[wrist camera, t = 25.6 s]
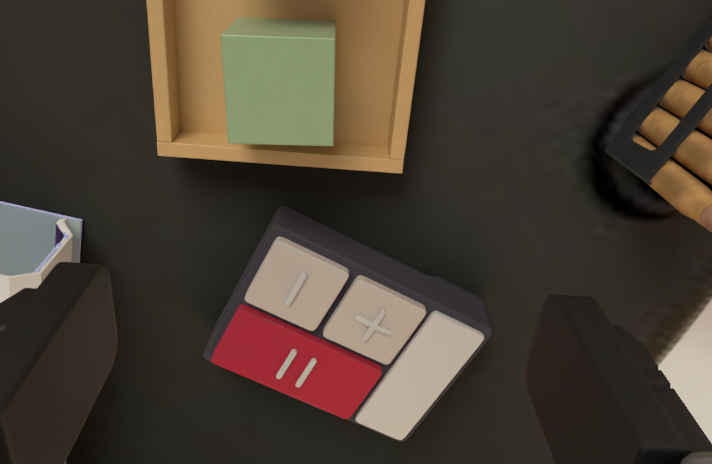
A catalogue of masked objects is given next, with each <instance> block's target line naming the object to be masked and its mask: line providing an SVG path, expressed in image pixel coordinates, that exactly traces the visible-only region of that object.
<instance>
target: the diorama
mask: <svg viewBox="0 0 712 464" xmlns="http://www.w3.org/2000/svg"><path fill="white" fill-rule="evenodd" d="M82 220H83V219H78V218H74V217H69V216H65V215H60V214H56V213H51V212H47V211H42V210H38V209H33V208H29V207H24V206H20V205H15V204H11V203H6V202H2V201H0V303H1V302H3V301H4V300H6V299H8V298H9V297H11V296H12V295H14V294H16V293H17V292H19V291H21V290H22V289H24V288H35V289H37V288H38V287H39V285H40V284H41V283H42V282H43V280H44V279H45V278H46V277H47V275H48V274H49V273H50V272H51V270H52V269H53V268H54V267H55V265H56V264H58V263H59V262H73V263H80V249H81V235H82ZM64 464H66V461H65V463H64Z"/></svg>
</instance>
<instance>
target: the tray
mask: <svg viewBox="0 0 712 464" xmlns="http://www.w3.org/2000/svg"><path fill="white" fill-rule="evenodd" d="M146 1H147V14H148V28H149V41H150V54H151V68H152V81H153V94H154V107H155V121H156V134H157V150H158V156H168V157H182V158H195V159H209V160H223V161H236V162H250V163H264V164H277V165H291V166H305V167H318V168H332V169H346V170H360V171H373V172H387V173H402V171H403V164H404V156H405V149H406V141H407V134H408V126H409V119H410V112H411V104H412V97H413V89H414V82H415V74H416V67H417V60H418V52H419V45H420V37H421V30H422V23H423V15H424V8H425V0H146ZM238 17H256V18H285V19H313V20H335V21H336V65H335V115H334V145H333V146H300V145H263V144H229V143H228V135H227V120H226V106H225V92H224V77H223V63H222V49H221V34H222V33H223V32H224V31H225V30H226V29H227V28H228V27H229V26H230V25H231V24H232V23H233V22H234V21H235V20H236V19H237V18H238Z"/></svg>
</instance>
